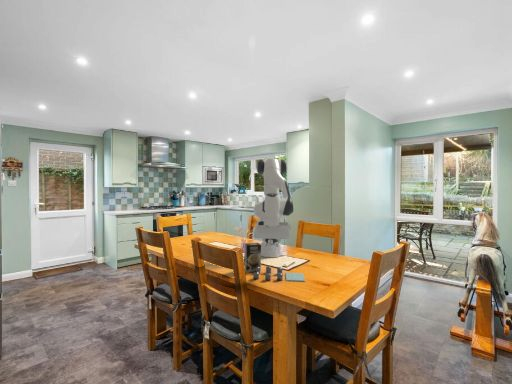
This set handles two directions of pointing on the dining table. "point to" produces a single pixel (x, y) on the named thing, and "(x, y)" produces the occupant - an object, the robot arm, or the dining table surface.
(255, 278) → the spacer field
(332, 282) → the dining table surface
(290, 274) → the board
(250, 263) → the coffee box
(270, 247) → the grey hexagonal block
